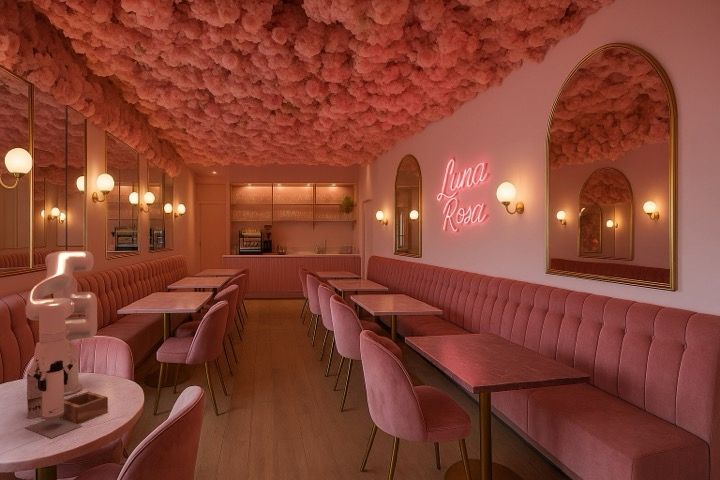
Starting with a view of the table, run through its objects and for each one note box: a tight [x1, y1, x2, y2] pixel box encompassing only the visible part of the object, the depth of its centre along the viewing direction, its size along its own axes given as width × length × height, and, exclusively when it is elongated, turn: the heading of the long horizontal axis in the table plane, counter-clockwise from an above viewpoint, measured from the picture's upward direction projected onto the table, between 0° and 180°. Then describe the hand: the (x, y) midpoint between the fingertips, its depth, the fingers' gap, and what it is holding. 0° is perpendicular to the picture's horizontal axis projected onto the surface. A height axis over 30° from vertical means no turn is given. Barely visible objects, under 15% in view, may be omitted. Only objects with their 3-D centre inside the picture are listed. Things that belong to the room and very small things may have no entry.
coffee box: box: [26, 370, 42, 419], centre depth 163 cm, size 9×6×16 cm
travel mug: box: [41, 361, 65, 421], centre depth 151 cm, size 6×7×20 cm
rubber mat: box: [25, 418, 83, 440], centre depth 152 cm, size 16×10×1 cm, turn 64°
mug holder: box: [60, 391, 109, 425], centre depth 162 cm, size 12×11×6 cm
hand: (53, 386), depth 151 cm, fingers closed on travel mug, 6 cm apart
